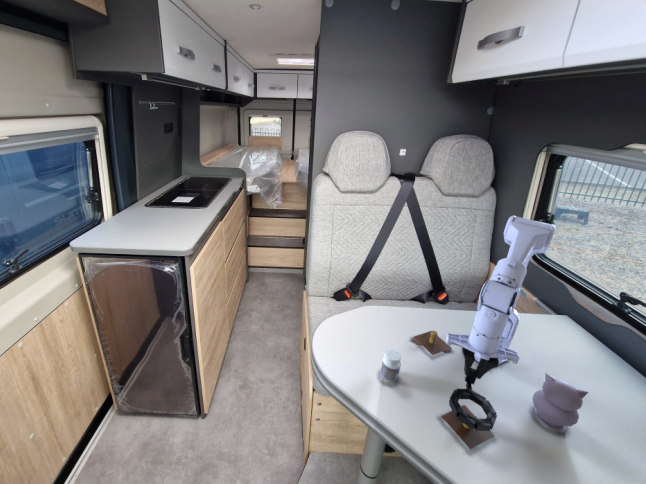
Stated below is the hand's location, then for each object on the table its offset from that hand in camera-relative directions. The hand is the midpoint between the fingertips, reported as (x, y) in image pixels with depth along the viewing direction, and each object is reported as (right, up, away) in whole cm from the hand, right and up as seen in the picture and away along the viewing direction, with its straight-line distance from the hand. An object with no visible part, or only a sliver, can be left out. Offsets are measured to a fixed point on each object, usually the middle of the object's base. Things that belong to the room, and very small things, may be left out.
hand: (471, 373), depth 75 cm
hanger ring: (-2, -6, -3) cm, 7 cm away
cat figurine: (+19, -12, 0) cm, 22 cm away
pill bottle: (-18, -6, +9) cm, 21 cm away
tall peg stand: (0, -2, +22) cm, 22 cm away
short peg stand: (-3, -11, -3) cm, 12 cm away
